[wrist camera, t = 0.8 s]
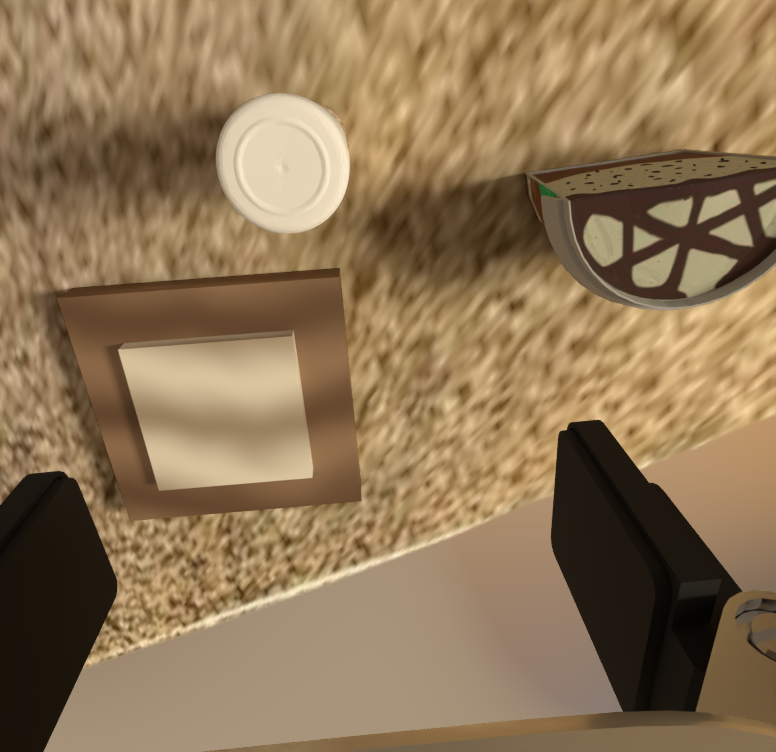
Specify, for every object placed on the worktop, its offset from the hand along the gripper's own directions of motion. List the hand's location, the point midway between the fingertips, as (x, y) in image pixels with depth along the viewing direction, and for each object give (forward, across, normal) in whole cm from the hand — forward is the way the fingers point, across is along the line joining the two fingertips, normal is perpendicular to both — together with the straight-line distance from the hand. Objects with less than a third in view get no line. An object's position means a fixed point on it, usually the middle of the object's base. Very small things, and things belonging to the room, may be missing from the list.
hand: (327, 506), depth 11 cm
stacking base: (+24, +9, +10) cm, 28 cm away
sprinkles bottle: (+25, +1, -5) cm, 26 cm away
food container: (+25, -16, 0) cm, 30 cm away
